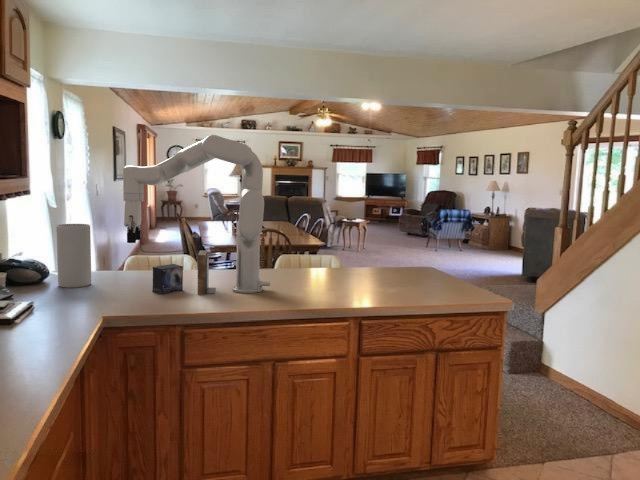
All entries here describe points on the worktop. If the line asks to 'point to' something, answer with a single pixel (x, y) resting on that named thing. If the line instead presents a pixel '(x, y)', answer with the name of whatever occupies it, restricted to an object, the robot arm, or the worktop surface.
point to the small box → (167, 278)
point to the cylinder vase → (73, 255)
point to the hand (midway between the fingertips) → (133, 241)
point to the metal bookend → (207, 289)
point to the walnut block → (201, 271)
